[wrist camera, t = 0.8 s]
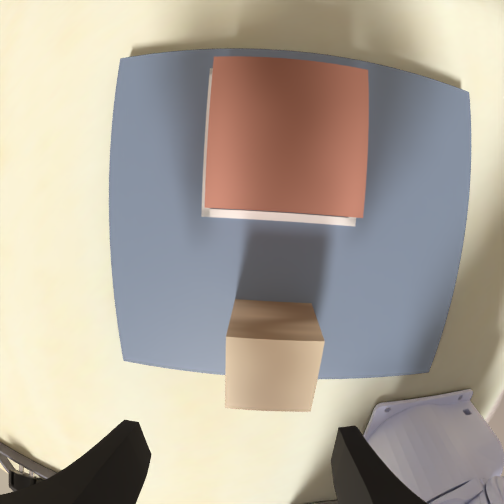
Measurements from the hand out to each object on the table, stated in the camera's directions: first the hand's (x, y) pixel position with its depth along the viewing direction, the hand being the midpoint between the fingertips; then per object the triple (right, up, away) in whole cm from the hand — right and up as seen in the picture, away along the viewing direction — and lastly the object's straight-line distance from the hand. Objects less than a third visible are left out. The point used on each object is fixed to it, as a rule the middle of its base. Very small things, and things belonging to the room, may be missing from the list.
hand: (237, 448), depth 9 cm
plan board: (+3, +9, +7) cm, 11 cm away
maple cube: (+2, +3, +7) cm, 8 cm away
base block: (+2, +12, +5) cm, 13 cm away
